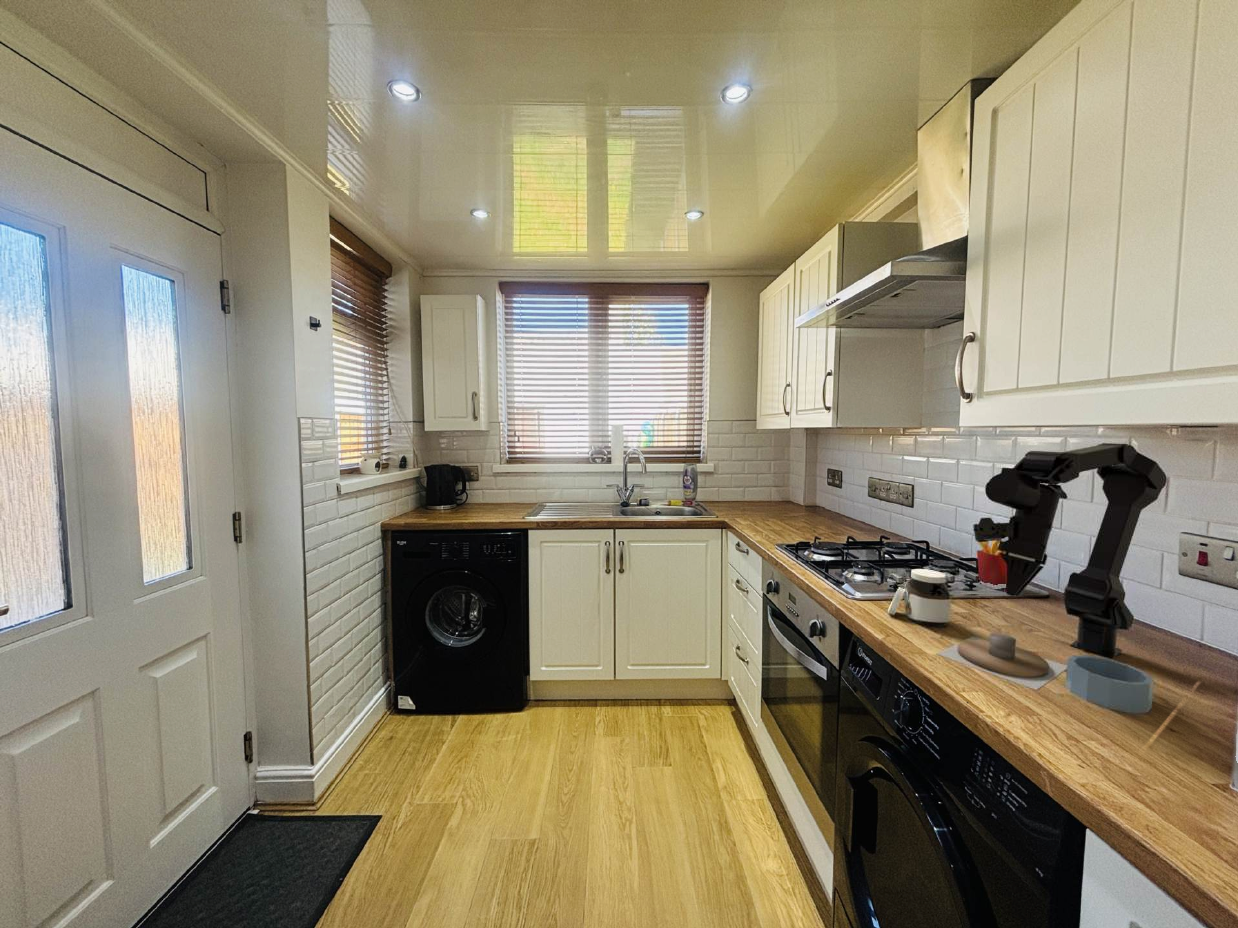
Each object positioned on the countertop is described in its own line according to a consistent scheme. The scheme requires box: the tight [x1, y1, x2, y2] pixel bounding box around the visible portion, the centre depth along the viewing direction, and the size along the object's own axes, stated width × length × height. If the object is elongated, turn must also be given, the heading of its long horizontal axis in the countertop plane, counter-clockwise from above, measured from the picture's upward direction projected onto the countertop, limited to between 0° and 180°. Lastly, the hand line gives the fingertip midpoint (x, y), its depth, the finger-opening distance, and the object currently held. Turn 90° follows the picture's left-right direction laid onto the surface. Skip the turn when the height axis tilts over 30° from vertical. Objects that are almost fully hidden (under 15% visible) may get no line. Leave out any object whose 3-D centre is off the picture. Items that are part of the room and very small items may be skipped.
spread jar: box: [887, 568, 952, 628], centre depth 117 cm, size 12×11×12 cm
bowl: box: [1065, 654, 1155, 714], centre depth 83 cm, size 10×10×5 cm
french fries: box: [976, 540, 1007, 585], centre depth 141 cm, size 9×8×15 cm
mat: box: [936, 635, 1067, 691], centre depth 96 cm, size 16×16×1 cm
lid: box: [957, 632, 1049, 678], centre depth 96 cm, size 14×14×4 cm
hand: (1012, 595), depth 94 cm, fingers open, 9 cm apart
